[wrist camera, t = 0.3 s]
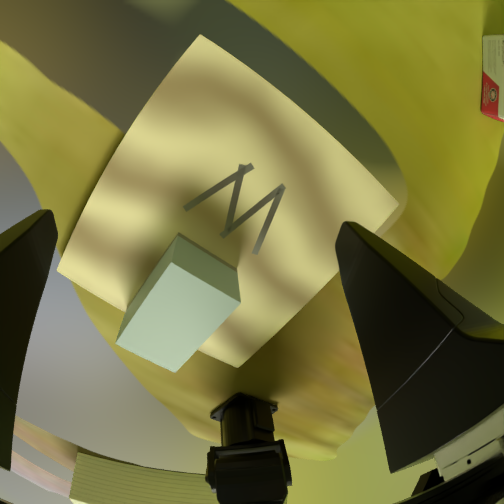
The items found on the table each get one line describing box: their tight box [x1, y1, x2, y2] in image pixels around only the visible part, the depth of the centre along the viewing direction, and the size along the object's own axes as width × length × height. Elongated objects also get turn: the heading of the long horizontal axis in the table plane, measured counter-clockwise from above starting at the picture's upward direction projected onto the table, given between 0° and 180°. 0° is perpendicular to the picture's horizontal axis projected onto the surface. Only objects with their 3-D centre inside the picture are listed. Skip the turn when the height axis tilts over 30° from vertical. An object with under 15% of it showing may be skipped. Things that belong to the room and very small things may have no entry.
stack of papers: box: [69, 452, 219, 504], centre depth 44 cm, size 32×11×11 cm, turn 74°
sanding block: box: [115, 232, 241, 372], centre depth 24 cm, size 9×6×4 cm, turn 142°
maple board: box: [57, 35, 399, 368], centre depth 24 cm, size 22×20×2 cm
